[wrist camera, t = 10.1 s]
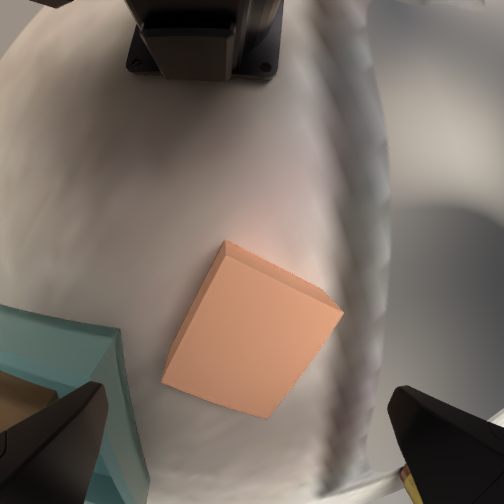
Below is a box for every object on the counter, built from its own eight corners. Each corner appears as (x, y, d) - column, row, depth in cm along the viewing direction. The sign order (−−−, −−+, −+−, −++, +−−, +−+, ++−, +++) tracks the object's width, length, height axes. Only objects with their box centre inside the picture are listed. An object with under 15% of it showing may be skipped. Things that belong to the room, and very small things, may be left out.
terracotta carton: (225, 238, 13) (225, 254, 10) (320, 287, 13) (343, 312, 11) (170, 345, 13) (160, 382, 10) (258, 381, 14) (266, 419, 11)
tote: (-45, 291, 11) (-80, 311, 7) (120, 329, 13) (90, 376, 9) (9, 434, 14) (-8, 461, 10) (150, 479, 16) (143, 518, 12)
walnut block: (-1, 370, 12) (-39, 412, 7) (56, 390, 12) (20, 447, 7) (22, 423, 13) (-5, 466, 8) (77, 443, 13) (55, 496, 8)
